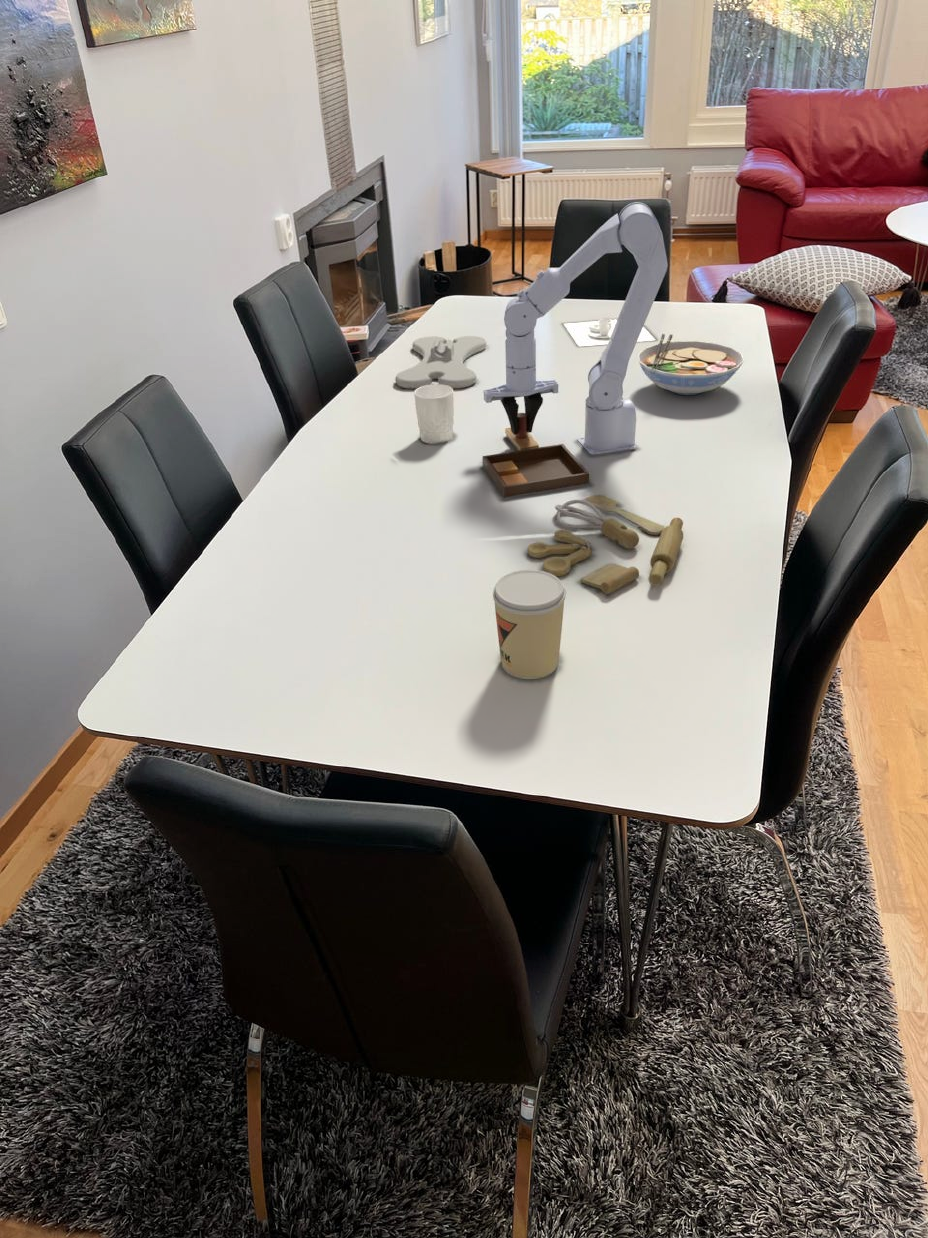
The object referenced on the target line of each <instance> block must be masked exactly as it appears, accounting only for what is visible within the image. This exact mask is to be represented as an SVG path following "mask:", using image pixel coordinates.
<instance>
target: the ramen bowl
mask: <svg viewBox="0 0 928 1238" xmlns="http://www.w3.org/2000/svg"><path fill="white" fill-rule="evenodd" d="M673 335H674V334H669V336H668V338H667V340H666V342H664V339H665V337H666V334H665V333H662V334H661V336H660V340H659V343H656V344H653V345H651V346H647V347H645V348H644V349H642V350H641V351H640V352H638V353H637V360H638V364H639V366H640V368H641V370H642V371H643V373H644V375H645V376H646V378H648V379H649V380H650V382H653V384H655V385H656V386H658V387H659V388H660V389H661V388H662V389H664V390H666V391H667V390H668V391H670V392H672V393H674V394H677V395H683V396H694V395H700V394H702V393H705V392H710V391H712V390H715V389H718V388H719V387H722V386H723V385H725V384H726V383H727V382H728V381H729V380H730V379H731V378H732V377H733V376H734V375H735V374H736V373H737V371H738V370H739V369H740V368H741V367H742V364H743V363H744V362H745V359H744V356H743V354H742V352H739V351H738V350H736V349H735V348H734V347H731V346H726V345H722V344H720V343H714V342H708V341H700V340H676V341H672V339H673Z"/></svg>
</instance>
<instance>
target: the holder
mask: <svg viewBox="0 0 928 1238" xmlns="http://www.w3.org/2000/svg"><path fill="white" fill-rule="evenodd" d="M486 347H487V340H486V339H485V338H483V337H481V336H476V335H465V336H459V337H456V338H454V339H453V340H452V339H446V338H444V337H442V336H424V337H423V336H422V337H419V338H417V339H415V340H414V341H413V342H412V349H413V351H414V352H416V353H418V354H419V355H420V356H422V359H421V360H420V361H419V362H418V363H417V364H416V365H414V366H412V367H410V368H407V369H405V370H402V371H400V372H398V373H397V374H396V376H395V383H396V384H397V386H398V387H401V388H404V389H411V390H413V389H414V390H415V389H417V388H419V387H422V386H426V385H432V384H433V380H437V383H438V384H441V385H447V386H450V387H451V388H453V389H463V388H467V387H470V386H472V385H474V384H475V383H476V381H477V374H476V373H475V371H473V370H471V369H470V368H468V367H467V366H465V364H464V362H465V361H466V359H468V358H469V357H471V356H472V355H474V354H477V353H480V352H482V351H484V350H485V349H486Z"/></svg>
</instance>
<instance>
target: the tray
mask: <svg viewBox="0 0 928 1238" xmlns="http://www.w3.org/2000/svg"><path fill="white" fill-rule="evenodd" d="M506 461H513V463H514V464H515V466H516V467H517V468H518V473H521V474H522V475H523V476H524V478H525V479H526V480H527V482H525V483H518V484H512V485H507V486H506V484H505V483H504V481H503V480H502V479H501V477H500V476H499V474H498V473H497V472H496V470H495V469H494V467H493V466H492V464H493V463H500V462H506ZM482 467H483V469H484V470H485V472H486V473H487V475H488V476H489V478H490V479H491V480H492V482H493V484H494V485H495V486H496V488H497V489H498V490H499V493H501V495H502V496H503V498H510V497H516V496H523V495H528V494H535V493H540V492H546V491H553V490H560V489H564V488H571V487H572V488H573V487H577V486H578V487H579V486H583V485H589V484H590V472H589V470H587V469H586V468H585V466H584V465H583V464H582V463H581V462H580V461H579V460H578V458H576V457H575V455H573V453H572V452H571V451H570V450H569V449H568V448H567V447H566V446H565V444H564V443H559V444H552V445H546V446H539V448H532V449H526V450H520V451H517V450H514V451H508V452H501V453H495V454H488V455H482Z"/></svg>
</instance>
